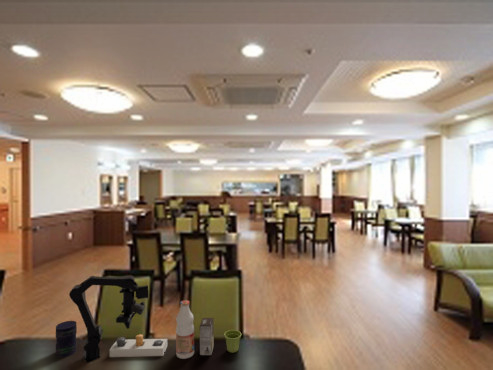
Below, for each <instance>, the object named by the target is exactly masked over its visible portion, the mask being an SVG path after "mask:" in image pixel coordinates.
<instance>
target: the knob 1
mask: <svg viewBox="0 0 493 370" xmlns="http://www.w3.org/2000/svg"><path fill="white" fill-rule="evenodd" d="M125 340H126V337H125V336H120V337H118V338H116V341H115V342H117V347H123V346H124V345H125V344H124V342H125Z"/></svg>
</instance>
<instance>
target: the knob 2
mask: <svg viewBox="0 0 493 370" xmlns="http://www.w3.org/2000/svg"><path fill="white" fill-rule="evenodd" d="M154 346H162V341H161V340H157V341H155V342H154Z"/></svg>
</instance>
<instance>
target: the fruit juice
mask: <svg viewBox="0 0 493 370" xmlns="http://www.w3.org/2000/svg"><path fill="white" fill-rule="evenodd" d="M179 305H180V308H179V309H180V310H179V312H178V314H177V315H176V320H175V321H176V327H175V337H176V338H175V343H176V345H175V348H176V349H175V351H176V352H175V353H176V354H175V355H176V357H177V358H179V359H181V360H182V359H183V360H185V359H190V358H191V357H193V355H194V354H195V326H194V320H195V319H194V317H195V316H194V313H192V311H191V309H190V300H185V299H184V300H181V301H180V302H179Z"/></svg>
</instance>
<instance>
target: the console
mask: <svg viewBox="0 0 493 370" xmlns="http://www.w3.org/2000/svg"><path fill="white" fill-rule="evenodd" d="M157 340H161V341H162V346H154V342H155V341H157ZM124 344H125V345H124V346H123V347H117V342H116V341H115V342H114V343H113V344H112V345H111V347H110V348H109V358H122V357H123V358H128V357H129V358H131V357H134V358H135V357H137V358H138V357H164V355H165V353H166V350H167V348H168V338H143V345H142V346H136V338H135V339H133V338H132V339H131V338H130V339H125V342H124ZM164 352H165V353H164Z"/></svg>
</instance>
